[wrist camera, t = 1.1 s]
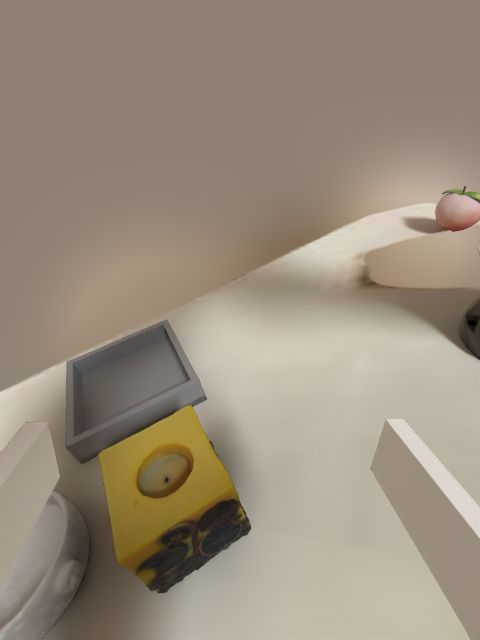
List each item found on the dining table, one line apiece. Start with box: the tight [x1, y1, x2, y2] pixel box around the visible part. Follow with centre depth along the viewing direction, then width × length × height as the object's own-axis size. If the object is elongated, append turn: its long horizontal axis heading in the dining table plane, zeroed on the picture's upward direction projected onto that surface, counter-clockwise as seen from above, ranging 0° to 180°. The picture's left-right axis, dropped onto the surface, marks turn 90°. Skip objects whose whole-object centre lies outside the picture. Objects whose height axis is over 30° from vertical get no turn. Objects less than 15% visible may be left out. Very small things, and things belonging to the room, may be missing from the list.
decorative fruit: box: [435, 186, 480, 232], centre depth 66 cm, size 9×8×10 cm
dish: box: [0, 490, 89, 640], centre depth 28 cm, size 14×14×5 cm
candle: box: [98, 405, 251, 593], centre depth 29 cm, size 10×10×10 cm
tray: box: [66, 320, 207, 463], centre depth 47 cm, size 18×18×4 cm
